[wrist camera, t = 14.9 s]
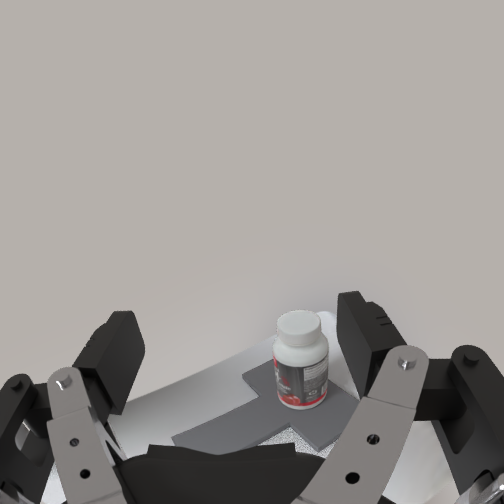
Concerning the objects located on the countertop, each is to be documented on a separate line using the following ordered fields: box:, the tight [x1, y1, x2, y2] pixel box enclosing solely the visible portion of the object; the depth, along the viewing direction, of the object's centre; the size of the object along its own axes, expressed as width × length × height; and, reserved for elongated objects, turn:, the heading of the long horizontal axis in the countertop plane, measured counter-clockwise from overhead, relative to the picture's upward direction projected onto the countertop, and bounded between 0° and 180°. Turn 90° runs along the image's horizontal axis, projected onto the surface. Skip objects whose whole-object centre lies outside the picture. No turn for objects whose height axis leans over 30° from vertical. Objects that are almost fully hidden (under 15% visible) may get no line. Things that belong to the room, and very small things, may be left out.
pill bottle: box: [272, 310, 329, 410], centre depth 28 cm, size 5×5×10 cm
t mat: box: [171, 359, 360, 455], centre depth 28 cm, size 18×14×1 cm
